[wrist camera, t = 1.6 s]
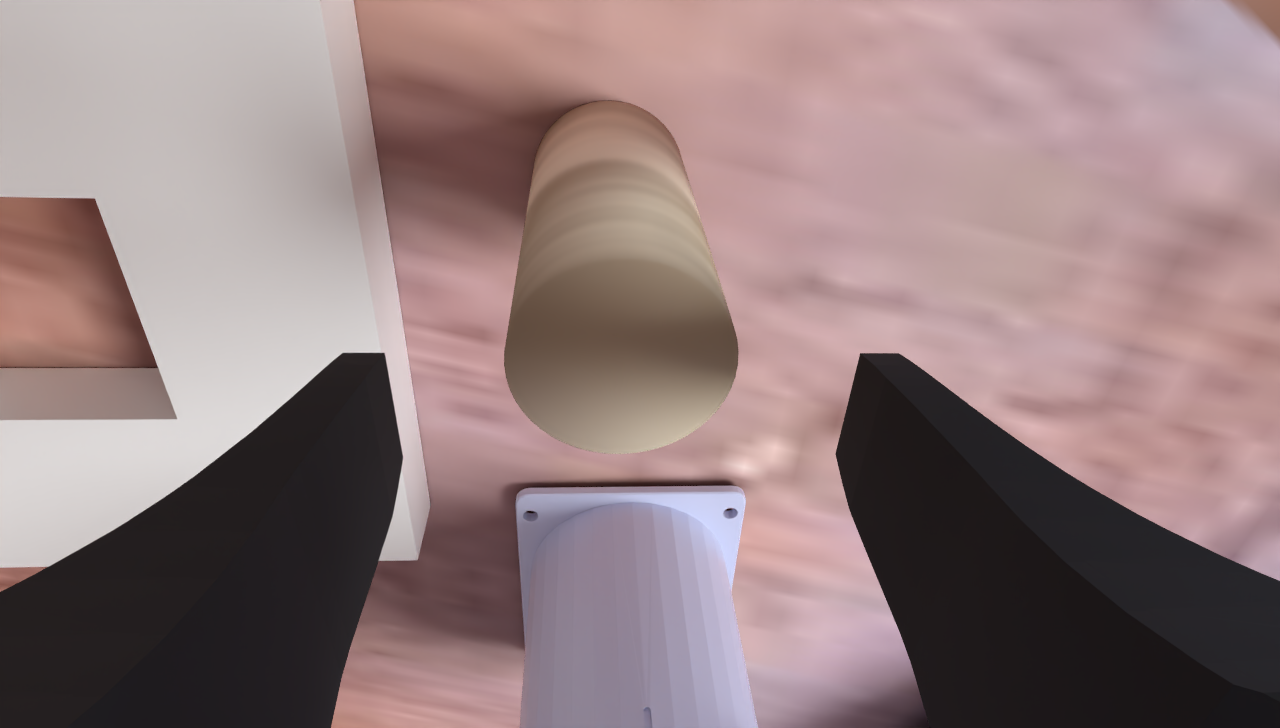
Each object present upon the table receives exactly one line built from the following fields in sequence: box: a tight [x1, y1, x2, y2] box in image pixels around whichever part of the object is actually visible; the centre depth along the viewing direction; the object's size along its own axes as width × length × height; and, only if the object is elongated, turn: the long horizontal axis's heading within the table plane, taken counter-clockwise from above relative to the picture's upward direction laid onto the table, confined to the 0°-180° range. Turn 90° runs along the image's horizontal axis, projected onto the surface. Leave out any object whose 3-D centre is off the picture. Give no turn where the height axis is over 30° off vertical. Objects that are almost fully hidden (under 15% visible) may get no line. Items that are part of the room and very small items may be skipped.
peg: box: [504, 101, 738, 454], centre depth 17 cm, size 4×4×9 cm
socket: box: [0, 0, 431, 568], centre depth 20 cm, size 18×18×2 cm
